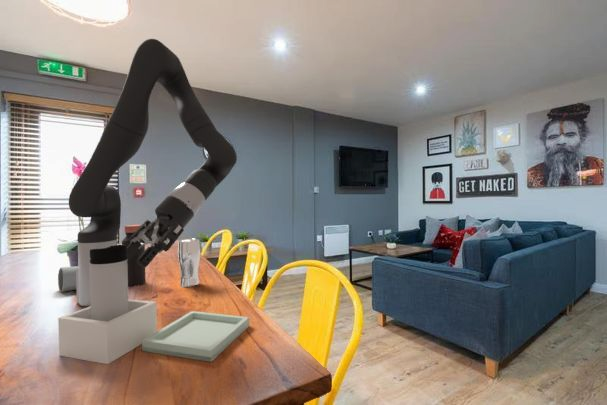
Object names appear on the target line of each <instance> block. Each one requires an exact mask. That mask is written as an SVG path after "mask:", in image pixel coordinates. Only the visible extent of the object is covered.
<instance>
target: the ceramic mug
mask: <svg viewBox="0 0 607 405" xmlns="http://www.w3.org/2000/svg"><path fill="white" fill-rule="evenodd" d="M77 269H78V265H77V266H75V265H74V266H63V267H60V268H59V269H58V273H57V283H58V284H57V287H58V291H59V292H60V293H65V292H70V291H74V290H76V291H77V288H76V270H77Z"/></svg>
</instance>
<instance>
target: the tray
mask: <svg viewBox="0 0 607 405" xmlns="http://www.w3.org/2000/svg"><path fill="white" fill-rule="evenodd" d="M249 327H250V317H249V316H241V315H231V314H222V313H215V312H204V311H203V312H202V311H195V310H191V311H189V312H188V313H186V314H185V315H183V316H181V317H179V318H177V319H176V320H174V321H173V322H171V323H169V324H168V325H166V326H164V327H163V328H161V329H159V330H157V332H155V333H154V334H152V335H150V336H149V337H147V338H145V339H144V340H142V344H141V350H142V352H146V353H147V352H148V353H153V354H159V355H160V354H161V355H167V356H172V357H180V358H184V359H190V360H191V359H193V360H198V361H204V362H210V363H212V362H213V361H215V359H216V358H217V357H219V356H220V354H222V353H223V352H224V350H226V348H228V347H229V346H230V345H231V344H232V343H233V342H234V341H236V339H238V338H239V337H240V336H241V335H242V334H243V333H244V332H245V331H246V330H247V329H248V328H249Z"/></svg>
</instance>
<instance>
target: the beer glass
mask: <svg viewBox="0 0 607 405" xmlns="http://www.w3.org/2000/svg"><path fill="white" fill-rule="evenodd" d="M177 242H178V243H177V245H178V246H177V257H178V258H177V260H178V263H179V271H180V281H179V286H180V287H181V288H193V287H195V285H197V286H199V285H200V279H199V267H200V266H199V265H200V260H201V259H200V258H201V245H200V239H199V238H185V239H179V240H178V241H177ZM192 286H193V287H192Z"/></svg>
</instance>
